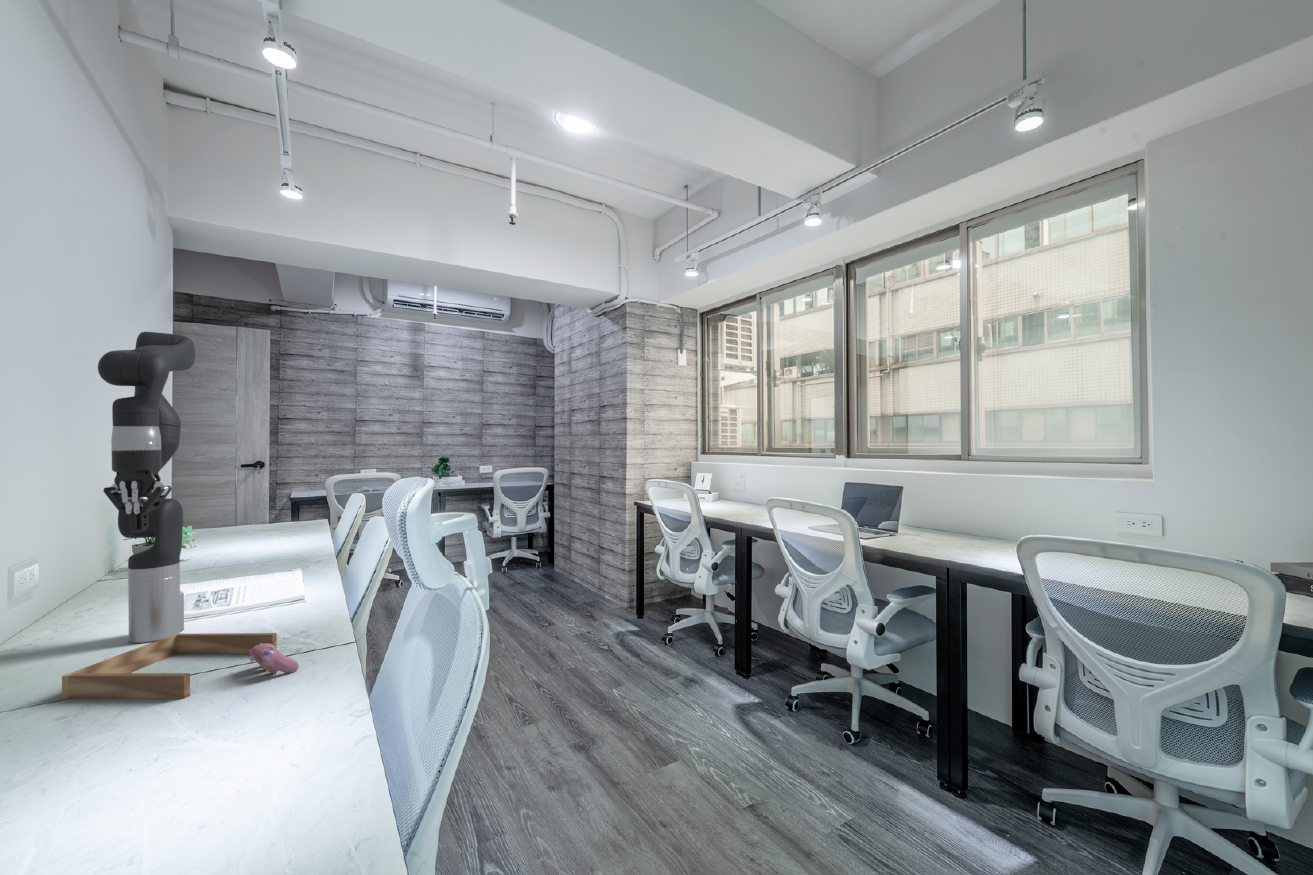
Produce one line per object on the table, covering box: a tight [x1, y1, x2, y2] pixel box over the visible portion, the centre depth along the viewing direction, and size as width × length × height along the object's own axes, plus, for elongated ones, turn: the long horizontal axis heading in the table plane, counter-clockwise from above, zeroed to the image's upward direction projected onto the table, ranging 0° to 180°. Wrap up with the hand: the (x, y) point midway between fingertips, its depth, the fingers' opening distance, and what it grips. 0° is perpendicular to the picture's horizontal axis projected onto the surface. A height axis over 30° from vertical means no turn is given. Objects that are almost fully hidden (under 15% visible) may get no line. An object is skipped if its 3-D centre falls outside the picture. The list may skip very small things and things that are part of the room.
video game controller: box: [248, 643, 300, 675], centre depth 109 cm, size 10×5×7 cm, turn 56°
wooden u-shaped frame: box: [61, 632, 278, 699], centre depth 110 cm, size 22×23×4 cm
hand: (138, 531), depth 114 cm, fingers closed
